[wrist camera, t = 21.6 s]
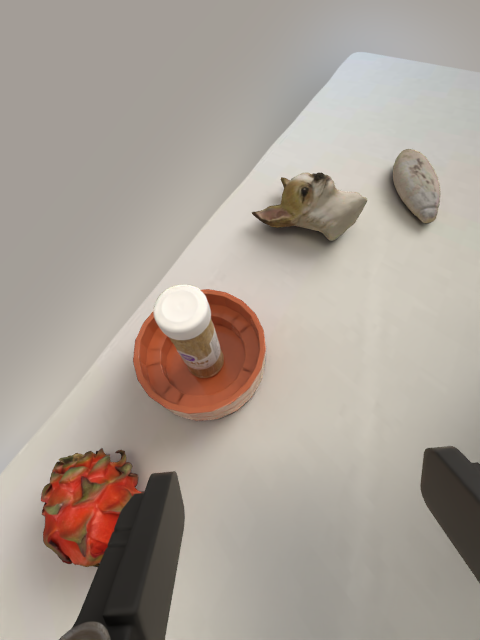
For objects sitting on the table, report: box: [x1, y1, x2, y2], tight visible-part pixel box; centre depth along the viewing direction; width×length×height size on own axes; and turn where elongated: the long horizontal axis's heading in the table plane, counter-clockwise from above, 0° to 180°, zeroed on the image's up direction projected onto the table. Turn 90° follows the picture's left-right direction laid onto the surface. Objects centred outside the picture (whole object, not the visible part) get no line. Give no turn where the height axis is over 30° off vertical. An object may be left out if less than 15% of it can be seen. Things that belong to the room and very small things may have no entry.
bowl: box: [133, 289, 266, 421], centre depth 34 cm, size 14×14×6 cm
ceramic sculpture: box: [252, 173, 367, 241], centre depth 42 cm, size 11×9×15 cm
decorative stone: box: [393, 149, 440, 223], centre depth 46 cm, size 6×16×3 cm, turn 2°
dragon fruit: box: [41, 448, 144, 567], centre depth 27 cm, size 8×8×12 cm
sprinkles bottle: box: [153, 285, 224, 378], centre depth 29 cm, size 5×5×13 cm
